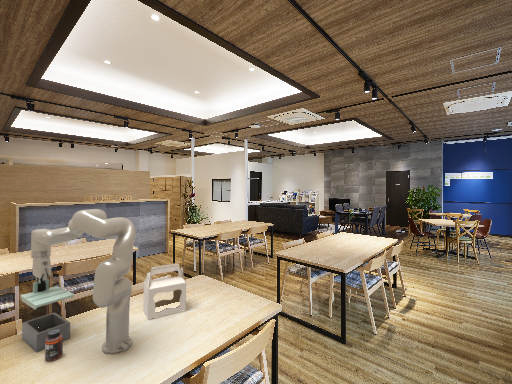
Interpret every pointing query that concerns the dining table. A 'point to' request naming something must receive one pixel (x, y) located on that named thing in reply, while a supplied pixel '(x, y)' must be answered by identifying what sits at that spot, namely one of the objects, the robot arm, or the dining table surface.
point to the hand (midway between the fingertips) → (41, 290)
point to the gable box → (164, 285)
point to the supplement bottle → (53, 345)
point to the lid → (45, 295)
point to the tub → (44, 330)
